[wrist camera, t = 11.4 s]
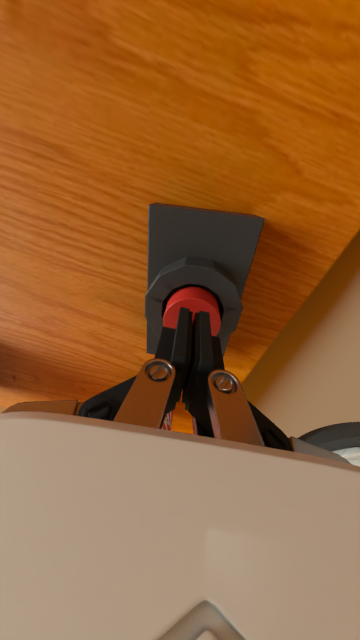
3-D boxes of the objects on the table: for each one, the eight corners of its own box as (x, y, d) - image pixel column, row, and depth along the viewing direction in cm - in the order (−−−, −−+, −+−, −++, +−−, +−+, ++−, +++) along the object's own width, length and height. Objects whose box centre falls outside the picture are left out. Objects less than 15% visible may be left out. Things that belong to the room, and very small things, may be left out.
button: (212, 334, 15) (214, 349, 13) (165, 327, 15) (161, 342, 13) (223, 289, 13) (226, 302, 11) (168, 282, 13) (164, 294, 11)
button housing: (219, 347, 20) (223, 378, 17) (151, 338, 20) (141, 367, 17) (256, 215, 14) (275, 222, 10) (155, 202, 14) (140, 205, 10)
